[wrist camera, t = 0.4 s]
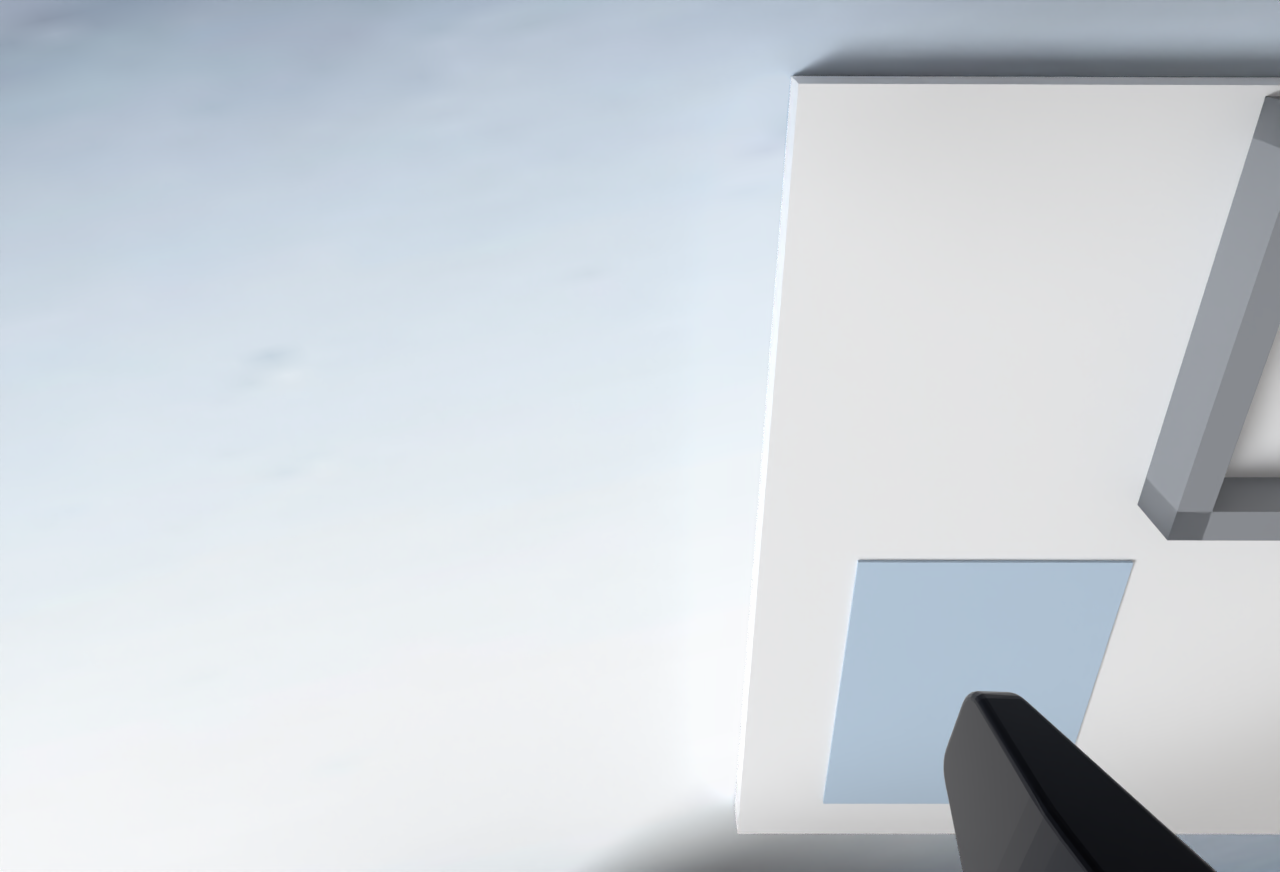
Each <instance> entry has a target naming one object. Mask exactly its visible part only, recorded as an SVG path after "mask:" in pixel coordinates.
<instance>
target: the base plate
mask: <svg viewBox="0 0 1280 872" xmlns="http://www.w3.org/2000/svg"><path fill="white" fill-rule="evenodd" d="M974 691H996V692H1012V693H1015V694H1017V695H1019V696H1021V697H1022V698H1024V699H1025V700H1026V701H1027V702H1028V703H1030V704H1031V705H1032V706H1033V707H1034V708H1035V709H1036V710H1037V711H1038V712H1040V713H1041V714H1042V715H1043V716H1044V717H1045V718H1046V719H1047V720H1048V721H1050V722H1051V723H1052V724H1053V725H1054V726H1055V727H1056V728H1057V729H1058V730H1060V731H1061V732H1062V733H1063V734H1064V735H1065V736H1066V737H1067V738H1068V739H1070V740H1071V741H1072V742H1073V743H1074V744H1075V745H1076V746H1077V747H1078V748H1080V749H1081V750H1082V751H1083V752H1084V753H1085V754H1086V755H1087V756H1089V757H1090V758H1091V759H1092V760H1093V761H1094V762H1095V763H1096V764H1097V765H1099V766H1100V767H1101V768H1102V769H1103V770H1104V771H1105V772H1106V773H1107V774H1109V775H1110V776H1111V777H1112V778H1113V779H1114V780H1115V781H1116V782H1117V783H1119V784H1120V785H1121V786H1122V787H1123V788H1124V789H1125V790H1126V791H1127V792H1129V793H1130V794H1131V795H1132V796H1133V797H1134V798H1135V799H1136V800H1137V801H1139V802H1140V803H1141V804H1142V805H1143V806H1144V807H1145V808H1146V809H1147V810H1149V811H1150V812H1151V813H1152V814H1153V815H1154V816H1155V817H1156V818H1157V819H1159V820H1160V821H1161V822H1162V823H1163V824H1164V825H1165V826H1166V827H1167V828H1169V829H1170V830H1171V831H1172V832H1173V833H1174V834H1280V78H1279V77H989V76H791V85H790V98H789V111H788V124H787V137H786V150H785V163H784V176H783V188H782V201H781V214H780V227H779V240H778V253H777V266H776V279H775V292H774V304H773V317H772V330H771V343H770V356H769V369H768V382H767V395H766V408H765V420H764V433H763V446H762V459H761V472H760V485H759V498H758V511H757V524H756V536H755V549H754V562H753V575H752V588H751V601H750V614H749V627H748V640H747V652H746V665H745V678H744V691H743V704H742V717H741V730H740V743H739V755H738V768H737V781H736V794H735V816H736V826H737V834H955V830H954V825H953V820H952V815H951V810H950V805H949V800H948V795H947V790H946V785H945V780H944V770H943V765H944V755H945V751H946V748H947V745H948V742H949V739H950V736H951V734H952V731H953V728H954V725H955V723H956V720H957V717H958V714H959V711H960V709H961V706H962V703H963V701H964V699H965V697H966V696H967V695H968V694H970V693H971V692H974Z"/></svg>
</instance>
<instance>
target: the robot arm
mask: <svg viewBox="0 0 1280 872" xmlns="http://www.w3.org/2000/svg"><path fill="white" fill-rule="evenodd" d="M943 770H944V780H945V785H946V790H947V795H948V800H949V805H950V810H951V815H952V820H953V825H954V830H955V835H956V840H957V845H958V850H959V855H960V860H961V865H962V870H963V872H1216V871H1215V870H1214V869H1213V868H1212V867H1211V866H1210V865H1209V864H1207V863H1206V862H1205V861H1204V860H1203V859H1202V858H1201V857H1200V856H1199V855H1197V854H1196V853H1195V852H1194V851H1193V850H1192V849H1191V848H1190V847H1189V846H1187V845H1186V844H1185V843H1184V842H1183V841H1182V840H1181V839H1180V838H1179V837H1177V836H1176V835H1175V834H1174V833H1173V832H1172V831H1171V830H1170V829H1169V828H1167V827H1166V826H1165V825H1164V824H1163V823H1162V822H1161V821H1160V820H1159V819H1157V818H1156V817H1155V816H1154V815H1153V814H1152V813H1151V812H1150V811H1149V810H1147V809H1146V808H1145V807H1144V806H1143V805H1142V804H1141V803H1140V802H1139V801H1137V800H1136V799H1135V798H1134V797H1133V796H1132V795H1131V794H1130V793H1129V792H1127V791H1126V790H1125V789H1124V788H1123V787H1122V786H1121V785H1120V784H1119V783H1117V782H1116V781H1115V780H1114V779H1113V778H1112V777H1111V776H1110V775H1109V774H1107V773H1106V772H1105V771H1104V770H1103V769H1102V768H1101V767H1100V766H1099V765H1097V764H1096V763H1095V762H1094V761H1093V760H1092V759H1091V758H1090V757H1089V756H1087V755H1086V754H1085V753H1084V752H1083V751H1082V750H1081V749H1080V748H1078V747H1077V746H1076V745H1075V744H1074V743H1073V742H1072V741H1071V740H1070V739H1068V738H1067V737H1066V736H1065V735H1064V734H1063V733H1062V732H1061V731H1060V730H1058V729H1057V728H1056V727H1055V726H1054V725H1053V724H1052V723H1051V722H1050V721H1048V720H1047V719H1046V718H1045V717H1044V716H1043V715H1042V714H1041V713H1040V712H1038V711H1037V710H1036V709H1035V708H1034V707H1033V706H1032V705H1031V704H1030V703H1028V702H1027V701H1026V700H1025V699H1024V698H1022V697H1021V696H1019V695H1017V694H1015V693H1012V692H996V691H974V692H971V693H970V694H968V695H967V696H966V697H965V699H964V701H963V703H962V706H961V709H960V711H959V714H958V717H957V720H956V723H955V725H954V728H953V731H952V734H951V736H950V739H949V742H948V745H947V748H946V751H945V755H944V765H943Z"/></svg>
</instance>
